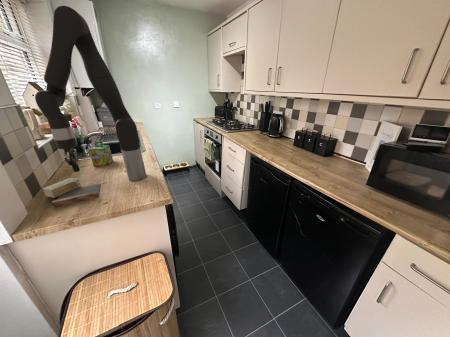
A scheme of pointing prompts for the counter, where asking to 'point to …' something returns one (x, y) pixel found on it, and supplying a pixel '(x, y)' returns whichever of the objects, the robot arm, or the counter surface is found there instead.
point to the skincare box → (61, 187)
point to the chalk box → (100, 154)
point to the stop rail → (74, 199)
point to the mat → (81, 191)
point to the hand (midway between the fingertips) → (77, 171)
